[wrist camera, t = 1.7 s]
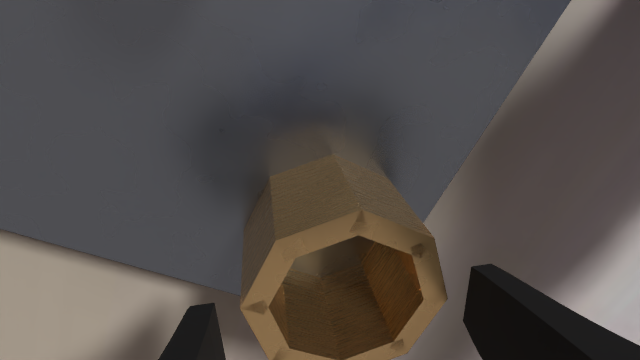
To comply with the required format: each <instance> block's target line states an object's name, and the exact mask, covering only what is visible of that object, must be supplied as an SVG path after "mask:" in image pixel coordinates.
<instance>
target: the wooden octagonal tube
mask: <svg viewBox="0 0 640 360" xmlns="http://www.w3.org/2000/svg"><path fill="white" fill-rule="evenodd" d="M358 235H359V236H362V237H365V238H367V239H370V240H373V241H375V242H374V243H373V245H372V247H371V248H370V250H369V251H368V253H367V255H366V256H365V258H364V259H363V261H362V263H360V264H357V265H355V266H352V267H349V268H346V269H343V270H341V271H338V272H335V273H332V274H330V275H327V276H324V277H321V278H319V277H316V276H313V275H310V274H307V273H304V272H300V271H297V270H294V269H291V268H290V267H291V265H292V264H293V262H294V260H295V258H297V257H300V256H302V255H305V254H308V253H311V252H314V251H316V250H319V249H322V248H325V247H327V246H330V245H333V244H336V243H338V242H341V241H344V240H347V239H350V238H352V237H355V236H358ZM447 299H448V298H447V294H446V289H445V285H444V280H443V276H442V271H441V267H440V262H439V257H438V253H437V248H436V244H435V239H434V237H433V236H432V235H431V233H430V232H429V231H428V229H427V228H426V227H425V225H424V224H423V223H422V222H421V220H420V219H419V218H418V216H417V215H416V214H415V212H414V211H413V210H412V209H411V207H410V206H409V205H408V203H407V202H406V201H405V199H404V198H403V197H402V196H401V194H400V193H399V192H398V190H397V189H396V188H395V186H394V185H393V184H392V183H391V181H390V180H389V179H388V178H387V177H384V176H382V175H380V174H378V173H375V172H373V171H371V170H368V169H366V168H364V167H362V166H359V165H357V164H355V163H352V162H350V161H348V160H346V159H343V158H341V157H339V156H336V155H334V154H332V155H329V156H326V157H323V158H321V159H318V160H315V161H312V162H309V163H307V164H304V165H301V166H298V167H296V168H293V169H290V170H287V171H284V172H282V173H279V174H276V175H273V176H271V177H269V180H268V182H267V184H266V186H265V188H264V190H263V192H262V194H261V196H260V198H259V200H258V202H257V204H256V206H255V208H254V210H253V212H252V214H251V216H250V218H249V220H248V222H247V224H246V226H245V229H244V234H243V255H242V276H241V297H240V309H241V311H242V313H243V315H244V316H245V318H246V320H247V322H248V324H249V325H250V327H251V329H252V331H253V332H254V334H255V336H256V338H257V340H258V341H259V343H260V345H261V347H262V348H263V350H264V352H265V354H266V355H267V357H268V359H269V360H390V359H392V358H395V357H398V356H401V355H403V354H406V353H408V351H409V350H410V349H411V347H412V346H413V345H414V343H415V342H416V341H417V339H418V338H419V337H420V335H421V334H422V332H423V331H424V330H425V328H426V327H427V326H428V324H429V323H430V322H431V320H432V319H433V318H434V316H435V315H436V314H437V312H438V311H439V310H440V308H441V307H442V306H443V304H444V303H445V302H446V300H447Z"/></svg>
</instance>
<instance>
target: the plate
mask: <svg viewBox="0 0 640 360" xmlns="http://www.w3.org/2000/svg"><path fill="white" fill-rule="evenodd" d="M570 1H571V0H0V229H2V230H6V231H10V232H13V233H17V234H20V235H24V236H28V237H31V238H35V239H38V240H42V241H46V242H49V243H53V244H56V245H60V246H63V247H67V248H71V249H74V250H78V251H81V252H85V253H89V254H92V255H96V256H99V257H103V258H106V259H110V260H114V261H117V262H121V263H124V264H128V265H132V266H135V267H139V268H142V269H146V270H150V271H153V272H157V273H160V274H164V275H167V276H171V277H175V278H178V279H182V280H185V281H189V282H193V283H196V284H200V285H203V286H207V287H210V288H214V289H218V290H221V291H225V292H228V293H232V294H236V295H239V296H241V276H242V255H243V234H244V229H245V226H246V224H247V222H248V220H249V218H250V216H251V214H252V212H253V210H254V208H255V206H256V204H257V202H258V200H259V198H260V196H261V194H262V192H263V190H264V188H265V186H266V184H267V182H268V180H269V177H271V176H273V175H276V174H279V173H282V172H284V171H287V170H290V169H293V168H296V167H298V166H301V165H304V164H307V163H309V162H312V161H315V160H318V159H321V158H323V157H326V156H329V155H332V154H334V155H336V156H339V157H341V158H343V159H346V160H348V161H350V162H352V163H355V164H357V165H359V166H362V167H364V168H366V169H368V170H371V171H373V172H375V173H378V174H380V175H382V176H384V177H387V178H388V179H389V180H390V181H391V183H392V184H393V185H394V186H395V188H396V189H397V190H398V192H399V193H400V194H401V196H402V197H403V198H404V199H405V201H406V202H407V203H408V205H409V206H410V207H411V209H412V210H413V211H414V212H415V214H416V215H417V216H418V218H419V219H420V220H421V222H422V223H423V222H424V221H425V219H426V218H427V216H428V215H429V213H430V212H431V210H432V209H433V207H434V206H435V204H436V203H437V201H438V200H439V198H440V197H441V195H442V194H443V192H444V191H445V189H446V188H447V186H448V185H449V183H450V182H451V180H452V179H453V177H454V176H455V174H456V173H457V171H458V170H459V168H460V167H461V165H462V163H463V162H464V160H465V159H466V157H467V156H468V154H469V153H470V151H471V150H472V148H473V147H474V145H475V144H476V142H477V141H478V139H479V138H480V136H481V135H482V133H483V132H484V130H485V129H486V127H487V126H488V124H489V123H490V121H491V120H492V118H493V117H494V115H495V114H496V112H497V111H498V109H499V108H500V106H501V105H502V103H503V102H504V100H505V99H506V97H507V96H508V94H509V93H510V91H511V90H512V88H513V87H514V85H515V84H516V82H517V81H518V79H519V78H520V76H521V75H522V73H523V72H524V70H525V69H526V67H527V66H528V64H529V63H530V61H531V60H532V58H533V57H534V55H535V54H536V52H537V51H538V49H539V48H540V46H541V45H542V43H543V42H544V40H545V39H546V37H547V36H548V34H549V33H550V31H551V30H552V28H553V27H554V25H555V24H556V22H557V21H558V19H559V18H560V16H561V15H562V13H563V12H564V10H565V9H566V7H567V6H568V4H569V3H570ZM374 242H375V241H373V240H370V239H367V238H365V237H362V236H359V235H358V236H355V237H352V238H350V239H347V240H344V241H341V242H338V243H336V244H333V245H330V246H327V247H325V248H322V249H319V250H316V251H314V252H311V253H308V254H305V255H302V256H300V257H297V258H295V260H294V262H293V264H292V265H291V267H290V268H291V269H294V270H297V271H300V272H304V273H307V274H310V275H313V276H316V277H319V278H321V277H324V276H327V275H330V274H332V273H335V272H338V271H341V270H343V269H346V268H349V267H352V266H355V265H357V264H360V263H362V261H363V259H364V258H365V256H366V255H367V253H368V251H369V250H370V248H371V247H372V245H373V243H374Z"/></svg>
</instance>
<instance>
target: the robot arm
mask: <svg viewBox="0 0 640 360" xmlns="http://www.w3.org/2000/svg"><path fill="white" fill-rule="evenodd" d="M463 322H464V324H465V326H466V328H467V330H468V332H469V334H470V336H471V339H472V341H473V343H474V345H475V346H476V348H477V350H478V352H479V354H480V356H481V358H482V359H483V360H640V346H639V345H637V344H635V343H633V342H631V341H629V340H627V339H625V338H623V337H621V336H619V335H617V334H615V333H613V332H611V331H609V330H607V329H605V328H604V327H602V326H600V325H598V324H596V323H594V322H592V321H590V320H588V319H587V318H585V317H583V316H581V315H579V314H578V313H576V312H574V311H572V310H570V309H569V308H567V307H565V306H563V305H562V304H560V303H558V302H556V301H555V300H553V299H551V298H550V297H548V296H546V295H545V294H543V293H541V292H539V291H538V290H536V289H534V288H533V287H531V286H529V285H528V284H526V283H524V282H523V281H521V280H519V279H517V278H516V277H514V276H512V275H511V274H509V273H507V272H505V271H504V270H502V269H500V268H498V267H496V266H494V265H493V264H487V265H479V266H472V267H471V272H470V279H469V285H468V292H467V298H466V305H465V311H464V318H463ZM158 360H226V358H225V353H224V348H223V343H222V338H221V334H220V329H219V324H218V319H217V314H216V309H215V304H214V303H209V304H202V305H195V306H190V307H189V308H188V309H187V311H186V313H185V315H184V316H183V318H182V320H181V322H180V324H179V325H178V327H177V329H176V331H175V333H174V334H173V336H172V338H171V339H170V341H169V343H168V345H167V346H166V348H165V350H164V351H163V353H162V354H161V356H160V358H159V359H158Z"/></svg>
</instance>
